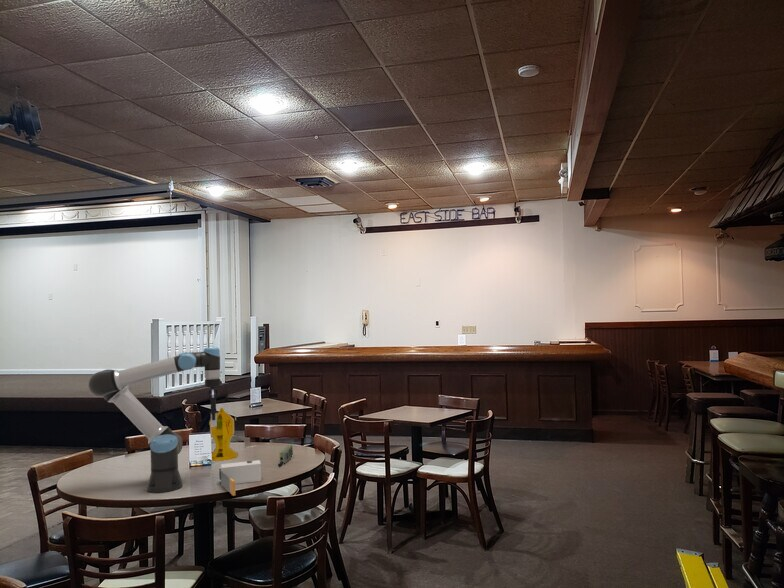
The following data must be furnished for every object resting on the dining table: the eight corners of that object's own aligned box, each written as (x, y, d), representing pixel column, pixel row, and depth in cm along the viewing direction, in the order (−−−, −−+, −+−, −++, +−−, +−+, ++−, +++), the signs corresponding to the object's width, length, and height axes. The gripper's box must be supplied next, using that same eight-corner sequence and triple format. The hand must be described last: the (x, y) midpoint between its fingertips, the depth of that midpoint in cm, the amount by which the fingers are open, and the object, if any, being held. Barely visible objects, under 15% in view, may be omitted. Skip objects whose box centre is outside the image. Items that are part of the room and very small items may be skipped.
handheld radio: (294, 456, 321) (282, 467, 296) (288, 456, 321) (276, 467, 296) (293, 444, 321) (281, 454, 296) (287, 444, 322) (275, 454, 297)
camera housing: (219, 485, 265) (219, 466, 265) (219, 481, 273) (219, 463, 273) (261, 480, 270) (260, 462, 271) (260, 476, 278) (259, 458, 278)
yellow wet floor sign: (218, 463, 310) (217, 411, 311) (197, 457, 327) (196, 408, 329) (247, 457, 322) (245, 407, 324) (225, 452, 339) (224, 404, 341)
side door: (220, 483, 264) (220, 470, 264) (223, 483, 265) (222, 470, 265) (233, 495, 244) (232, 481, 244) (235, 495, 244) (235, 481, 245)
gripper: (220, 379, 280) (221, 427, 279) (220, 377, 292) (221, 423, 291) (204, 380, 278) (205, 429, 276) (205, 378, 290) (206, 425, 289)
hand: (213, 426), depth 284 cm, fingers closed
